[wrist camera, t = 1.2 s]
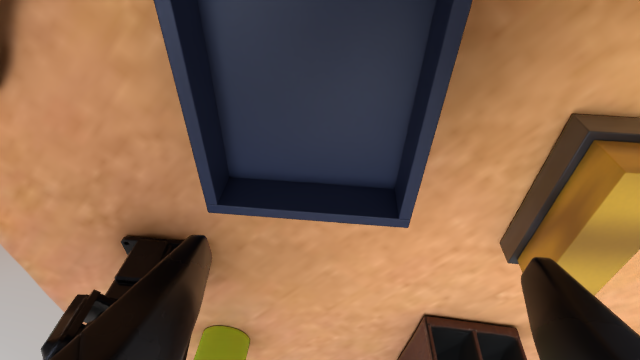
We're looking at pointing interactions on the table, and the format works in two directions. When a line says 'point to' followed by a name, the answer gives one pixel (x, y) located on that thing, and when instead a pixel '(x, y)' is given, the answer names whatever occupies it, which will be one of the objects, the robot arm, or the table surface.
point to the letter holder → (463, 341)
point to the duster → (583, 202)
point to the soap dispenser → (222, 344)
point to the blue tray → (312, 101)
